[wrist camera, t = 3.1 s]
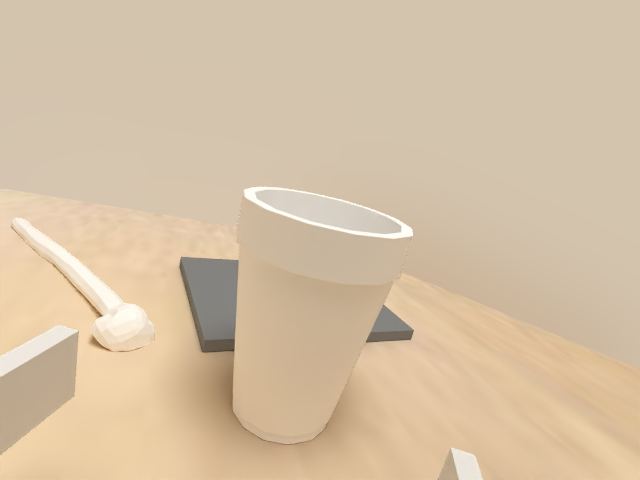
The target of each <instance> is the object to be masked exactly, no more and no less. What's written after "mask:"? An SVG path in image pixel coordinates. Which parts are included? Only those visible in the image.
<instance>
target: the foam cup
mask: <svg viewBox="0 0 640 480" xmlns="http://www.w3.org/2000/svg"><path fill="white" fill-rule="evenodd" d="M412 237H413V233H412V228H410V227H409V226H407V225H406V224H404V223H402V222H401V221H399V220H398V219H396V218H393V217H390V216H388V215H386V214H383V213H381V212H378V211H376V210H373V209H370V208H367V207H364V206H360V205H357V204H354V203H351V202H348V201H344V200H340V199H336V198H332V197H328V196H323V195H319V194H315V193H309V192H304V191H298V190H291V189H285V188H273V187H254V188H249V189H244V192H243V198H242V203H241V210H240V214H239V220H238V226H237V243H239V244H240V245H239V266H238V287H237V308H236V329H235V350H234V371H233V409H232V411H233V412H234V414H235V415H236V417H237V418H238V420H239V421H240V423H241V425H242V426H243V427H244V428H245V429H247V430H248V431H250V432H252V433H253V434H255V435H256V436H258V437H260V438H261V439H263V440H266V441H272V442H277V443H282V444H287V445H289V444H294V443H299V442H304V441H310V440H312V439H313V438H314V437H315V436H317V435H318V434H319V433H320V432H322V431H323V430H324V429H325V427H326V424H327V422H328V421H329V420H330V418H331V416H332V413H333V411H334V409H335V407H336V405H337V403H338V400H339V398H340V396H341V394H342V392H343V390H344V388H345V385H346V383H347V381H348V379H349V377H350V375H351V373H352V370H353V368H354V366H355V364H356V362H357V360H358V358H359V355H360V353H361V351H362V349H363V347H364V345H365V342H366V340H367V338H368V336H369V334H370V332H371V330H372V327H373V325H374V323H375V321H376V319H377V317H378V315H379V312H380V310H381V308H382V306H383V304H384V302H385V299H386V297H387V295H388V293H389V291H390V289H391V287H392V284H393V282H394V280H397V279H399V278H400V275H401V272H402V269H403V266H404V262H405V259H406V256H407V253H408V250H409V246H410V243H411V240H412Z"/></svg>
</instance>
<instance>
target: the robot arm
mask: <svg viewBox="0 0 640 480" xmlns="http://www.w3.org/2000/svg"><path fill="white" fill-rule="evenodd" d="M78 334H79V331H78V330H75V329H72V328H68V327H65V326H62V325H57V326H56V327H54V328H52V329H50V330H48V331H46V332H44V333H43V334H41V335H39V336H37V337H35V338H33V339H31V340H29V341H28V342H26V343H24V344H22V345H20V346H18V347H16V348H15V349H13V350H11V351H9V352H7V353H5V354H3V355H1V356H0V455H1V454H2V453H3V452H5V451H6V450H7V449H8V448H10V447H11V446H12V445H13V444H15V443H16V442H17V441H18V440H20V439H21V438H22V437H23V436H25V435H26V434H27V433H28V432H30V431H31V430H32V429H33V428H35V427H36V426H37V425H38V424H40V423H41V422H42V421H43V420H45V419H46V418H47V417H48V416H50V415H51V414H52V413H54V412H55V411H56V410H57V409H59V408H60V407H61V406H62V405H64V404H65V403H66V402H67V401H69V400H70V399H71V398H72V397H74V392H75V378H76V363H77V349H78ZM438 480H483V478H482V475H481V472H480V469H479V466H478V463H477V460H476V457H475V455H473V454H470V453H467V452H464V451H461V450H457V449H454V448H450V451H449V453H448V456H447V458H446V461H445V463H444V466H443V468H442V471H441V473H440V475H439V478H438Z"/></svg>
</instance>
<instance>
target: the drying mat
mask: <svg viewBox="0 0 640 480" xmlns="http://www.w3.org/2000/svg"><path fill="white" fill-rule="evenodd" d="M238 266H239V260H224V259H207V258H189V257H181V260H180V268H181V272H182V276H183V280H184V283H185V287H186V291H187V295H188V298H189V302H190V306H191V310H192V313H193V317H194V321H195V325H196V329H197V332H198V336H199V340H200V344H201V347H202V351H203V352H212V351H228V350H235V329H236V308H237V287H238ZM413 332H414V330H413V329H412V328H411V327H409V326H408V325H407V324H406V323H405V322H403V321H402V320H401V319H400V318H399V317H398V316H396V315H395V314H394V313H393V312H392V311H390V310H389V309H388V308H387V307H386V306H385V305H383V306H382V308H381V310H380V312H379V315H378V317H377V319H376V321H375V323H374V325H373V327H372V330H371V332H370V334H369V336H368V338H367V340H366V342H373V341H390V340H406V339H411V337H412V334H413Z"/></svg>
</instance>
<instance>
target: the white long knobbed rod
mask: <svg viewBox="0 0 640 480" xmlns="http://www.w3.org/2000/svg"><path fill="white" fill-rule="evenodd" d="M11 227H12V228H13V229H14V230H15V231H16V232H17V233H18V234H19V235H20V236H21V237H22V238H23V239H24V240H25V241H26V243H27V244H28V245H29V246H30V247H32V248H33V249H34V250H35V251H36V252H37V253H38V254H39V255H40V256H41V257H43V258H44V259H46V260H48V261H49V262H51V263H53V264H54V265H55V266H56V267H57V268H58V269H59V270H60V271H61V272H62V273H63V274H64V275H65V276H66V277H67V278H68V279H69V281H70V282H71V283H72V284H73V285H74V286H75V287H76V288H77V289H78V290H79V291H80V292H81V293H82V294H83V295H84V296H85V297H86V298H87V299H88V301H89V302H90V303H91V304H92V305H93V306H94V307H95V308H96V309H97V310H98V311H99V312H100V313H101V314H102V317H100V318H97V319H96V320H95V321H94V324H93V326H92V328H91V332H92V335H93V336H94V337H95V338H96V340H97V341H98V342H99V343H100V344H101V345H102V346H103V347H105V348H107V349H109V350H111V351H113V352H118V351H131V350H134V349H137V348H141V347H144V346H147V345H149V344H150V343H151V342H153V341H154V340H155V326H154V325H153V324H152V322H151V321H150V320H149V319H148V318H147V314H146V312H145V311H144V310H143V309H142V308H141V307H139V306H137V305H135V304H131V303H124V302H123V301H122V299H121V298H120V297H119V296H118V295H117V294H116V293H115V292H114V291H112V290H111V289H110V288H109V287H108V286H107V285H106V284H105V283H103V282H102V281H101V280H100V279H99V278H98V277H97V276H96V275H95V274H93V273H92V272H91V271H90V270H89V269H88V268H87V267H86V266H85V265H84V264H83V263H82V262H80V261H79V260H78V259H77V258H75V257H74V256H73V255H71V254H70V253H69V252H68V251H66V250H65V249H64V248H63V247H61V246H60V245H59V244H57V243H56V242H54V241H53V240H52V239H50V238H49V237H47V236H46V235H45V234H43V233H42V232H40V231H39V230H37V229H36V228H34V227H33V226H32V225H30V223H29V222H28V221H27V220H24V219H21V218H14V219H13V220H12V226H11Z"/></svg>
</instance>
